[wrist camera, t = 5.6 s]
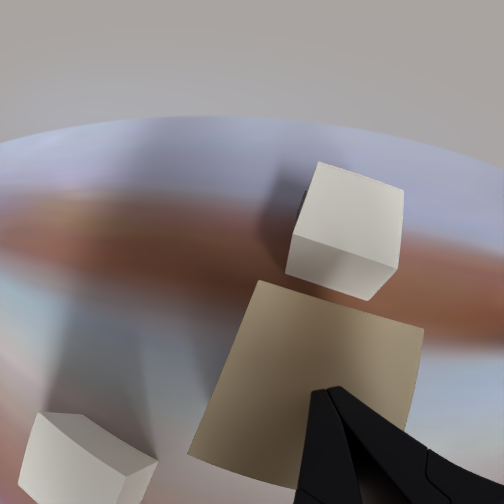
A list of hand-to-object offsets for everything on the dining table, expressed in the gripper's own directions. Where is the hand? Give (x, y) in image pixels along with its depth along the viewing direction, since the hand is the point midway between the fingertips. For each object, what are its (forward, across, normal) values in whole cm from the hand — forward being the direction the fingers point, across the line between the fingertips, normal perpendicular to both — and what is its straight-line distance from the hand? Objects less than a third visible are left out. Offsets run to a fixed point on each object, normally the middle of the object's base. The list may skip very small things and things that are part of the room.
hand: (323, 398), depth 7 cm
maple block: (+6, 0, +7) cm, 9 cm away
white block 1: (+3, +12, +10) cm, 16 cm away
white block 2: (+14, -5, 0) cm, 14 cm away
